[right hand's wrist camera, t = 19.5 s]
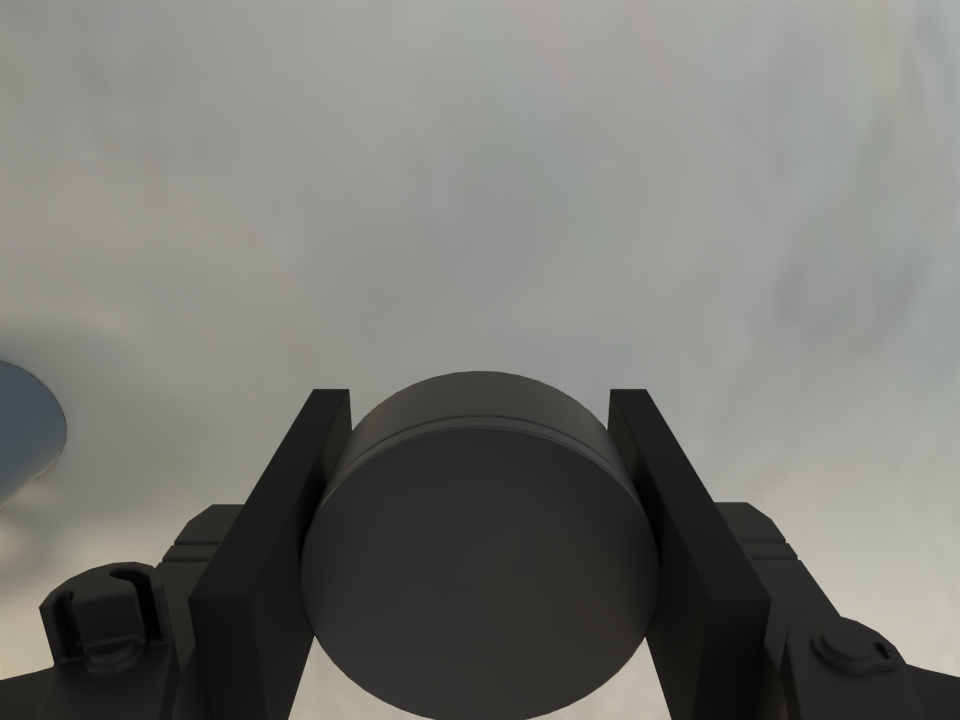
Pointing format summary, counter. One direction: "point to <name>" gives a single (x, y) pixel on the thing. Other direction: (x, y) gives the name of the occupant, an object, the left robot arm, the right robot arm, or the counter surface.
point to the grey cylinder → (26, 430)
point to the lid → (480, 551)
